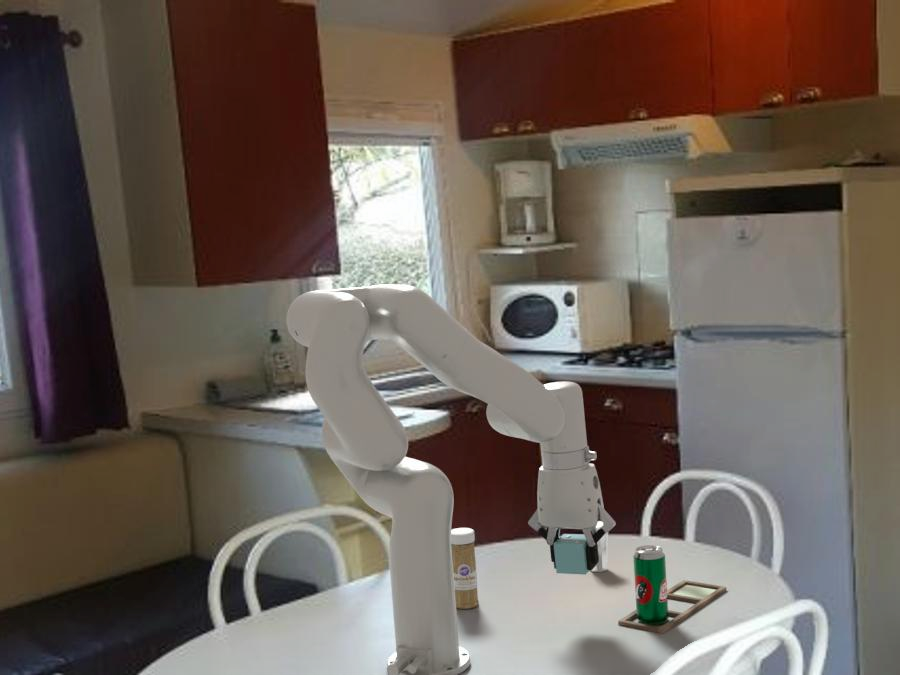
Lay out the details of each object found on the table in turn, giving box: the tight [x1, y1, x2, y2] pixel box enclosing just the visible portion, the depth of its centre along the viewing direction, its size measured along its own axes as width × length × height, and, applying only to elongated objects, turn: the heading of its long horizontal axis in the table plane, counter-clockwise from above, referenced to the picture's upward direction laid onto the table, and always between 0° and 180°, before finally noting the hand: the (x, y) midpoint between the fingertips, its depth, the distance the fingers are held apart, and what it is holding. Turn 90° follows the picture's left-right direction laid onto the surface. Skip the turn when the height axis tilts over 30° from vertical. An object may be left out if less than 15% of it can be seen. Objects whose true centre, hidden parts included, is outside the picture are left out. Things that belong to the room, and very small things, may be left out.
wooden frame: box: [617, 579, 727, 634], centre depth 187 cm, size 23×8×1 cm, turn 141°
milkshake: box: [589, 521, 609, 573], centre depth 209 cm, size 4×5×10 cm
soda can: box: [632, 545, 669, 626], centre depth 181 cm, size 5×5×12 cm
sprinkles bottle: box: [451, 527, 480, 610], centre depth 195 cm, size 5×5×14 cm
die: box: [554, 533, 591, 576], centre depth 182 cm, size 5×5×5 cm
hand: (575, 565), depth 183 cm, fingers closed on die, 4 cm apart
